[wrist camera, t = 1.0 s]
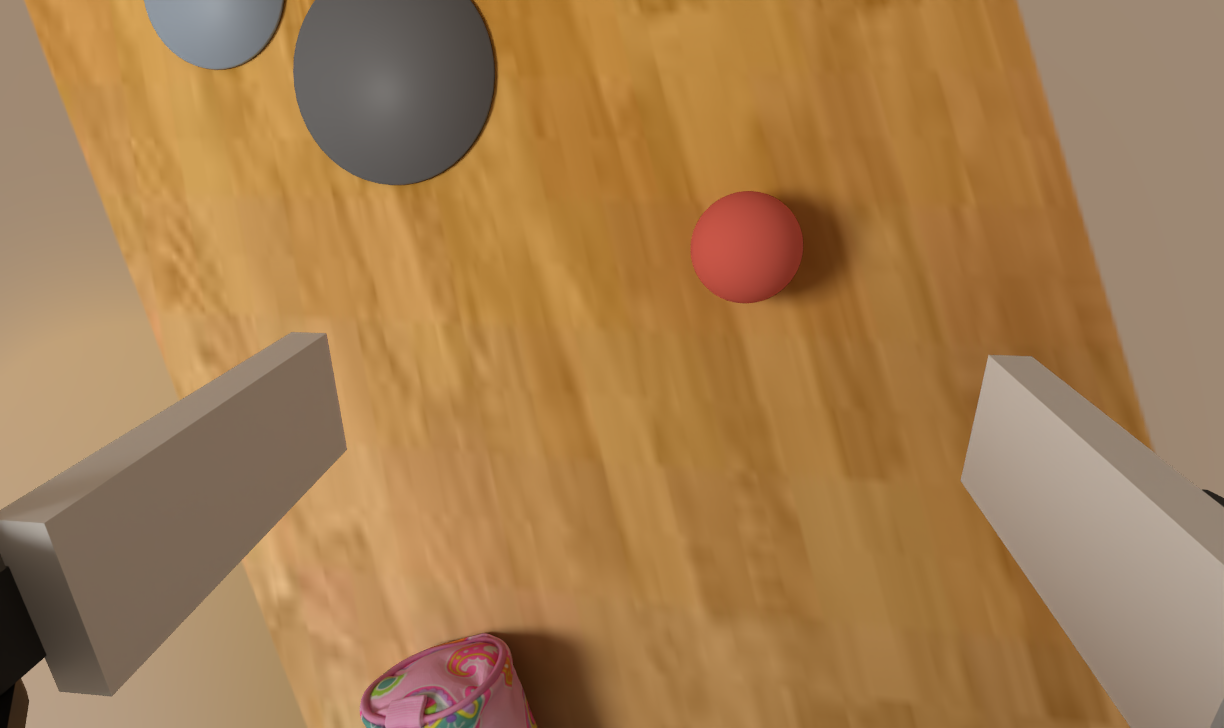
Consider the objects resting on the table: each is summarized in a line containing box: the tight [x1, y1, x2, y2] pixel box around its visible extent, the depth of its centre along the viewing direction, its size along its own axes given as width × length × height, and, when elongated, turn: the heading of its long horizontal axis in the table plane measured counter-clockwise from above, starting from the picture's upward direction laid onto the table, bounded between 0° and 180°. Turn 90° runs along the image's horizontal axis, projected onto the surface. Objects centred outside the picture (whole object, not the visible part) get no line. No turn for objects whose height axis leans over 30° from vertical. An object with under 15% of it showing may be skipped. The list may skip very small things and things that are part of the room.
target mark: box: [293, 0, 495, 185], centre depth 38 cm, size 12×12×1 cm
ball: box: [691, 191, 803, 303], centre depth 33 cm, size 6×6×6 cm
